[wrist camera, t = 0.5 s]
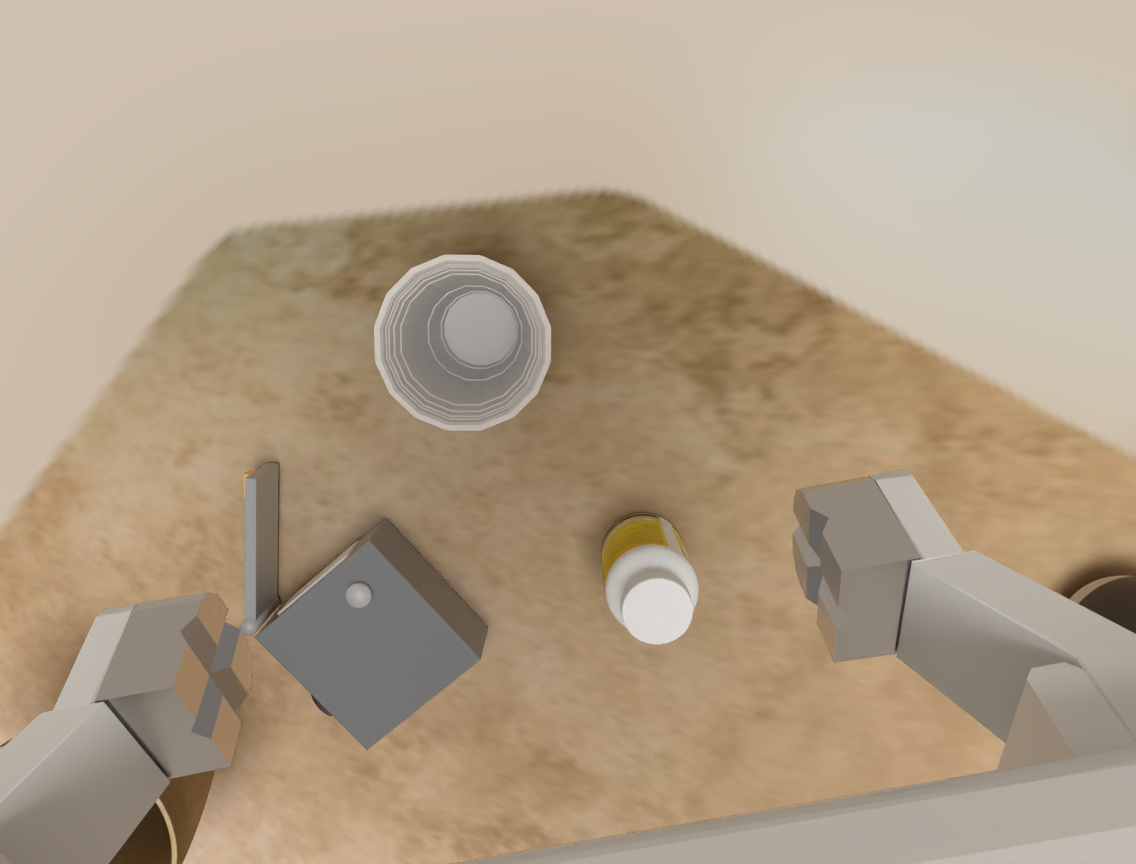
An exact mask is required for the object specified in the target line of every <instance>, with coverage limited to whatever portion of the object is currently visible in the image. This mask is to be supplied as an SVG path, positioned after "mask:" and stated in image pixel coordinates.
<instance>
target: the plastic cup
mask: <svg viewBox="0 0 1136 864" xmlns="http://www.w3.org/2000/svg"><path fill="white" fill-rule="evenodd" d="M374 346H375V363H376V365H377V367H378V369H379V371H380V374H381V376H382V378H383V380H384V383H385V385H386V387H387V389H388V391H389V394H390V395H391V396H393V397H394V398H395V399H396V400H397V401H398V402H399V403H400V404H401V405H402V406H403V407H404V408H405V409H406V410H407V411H408V412H409V413H410V414H411V415H413V416H414V417H415V418H417V419H419V420H422V421H424V422H427V423H429V424H432V425H434V426H437V427H439V428H442V429H444V430H447V431H482V430H484V429H487V428H489V427H492V426H494V425H497V424H499V423H502V422H504V421H506V420H509V419H511V418H514V417H515V416H516V415H517V414H518V413H519V412H520V411H521V410H522V409H523V408H524V407H525V406H526V405H527V404H528V403H529V402H530V401H531V400H532V399H533V398H534V397H535V396H536V395H537V394H538V392H539V389H540V387H541V384H542V382H543V380H544V377H545V375H546V373H547V370H548V368H549V366H550V363H551V326H550V323H549V321H548V318H547V316H546V313H545V311H544V308H543V306H542V303H541V301H540V299H539V296H538V294H537V293H536V292H535V291H534V290H533V289H532V288H531V287H530V286H529V285H528V284H527V283H526V282H525V281H524V280H523V279H522V278H521V277H520V276H519V275H518V274H517V273H516V272H515V271H514V270H513V269H511V268H509V267H507V266H504V265H502V264H500V263H497V262H495V261H493V260H491V259H488V258H486V257H484V256H481V255H442V256H440V257H437V258H435V259H432V260H430V261H427V262H425V263H423V264H420V265H418V266H415V267H413V268H411V269H410V270H409V271H408V272H407V273H406V274H405V275H404V276H403V277H402V278H401V279H400V280H399V281H398V282H397V283H396V284H395V285H394V286H393V287H392V288H391V289H390V290H389V291H388V292H387V294H386V296H385V299H384V301H383V304H382V307H381V309H380V312H379V314H378V317H377V320H376V322H375V325H374Z"/></svg>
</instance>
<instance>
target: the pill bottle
mask: <svg viewBox="0 0 1136 864" xmlns="http://www.w3.org/2000/svg"><path fill="white" fill-rule="evenodd" d="M601 559H602V568H603V577H604V586H605V595H606V600H607V603H608V606H609V609H610V611H611V612H612V614H613V616H614V617H615V618H616V619H617V620H618V621H619V622H620V623H621V624H622V625H623V626H625V627H626V628H627V630H628V631H629V632H630V633H631V634H632V635H633V636H634V637H635V638H637V639H638V640H640V641H642V642H645V643H648V644H665V643H669V642H671V641H674V640H676V639H677V638H679V637H680V636H681V635H682V634H683V633H684V632H685V631H686V630H687V628H688V627H689V625H690V623H691V620H692V616H693V611H694V608H695V606H696V604H697V600H698V594H699V585H698V579H697V576H696V573H695V570H694V568H693V565H692V563H691V560H690V558H689V556H688V553H687V551H686V548H685V546H684V543H683V541H682V539H681V536H680V535H679V533H678V531H677V530H676V529H675V527H674V526H673V525H672V524H671V523H669V522H668V521H667V520H665V519H663V518H661V517H659V516H657V515H653V514H648V513H638V514H633V515H629V516H627V517H624V518H623V519H621V520H619V521H618V522H617V523H615V524H614V525H613V526H612V527H611V528H610V530H609V531H608V533H607V534H606V536H605V538H604V541H603V544H602V551H601Z"/></svg>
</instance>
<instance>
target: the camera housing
mask: <svg viewBox="0 0 1136 864" xmlns="http://www.w3.org/2000/svg"><path fill="white" fill-rule="evenodd" d="M487 630H488V626H487V625H486V624H485V623H484V622H483V621H482V620H481V619H480V617H479V616H478V615H477V614H476V613H475V612H474V611H473V610H472V609H471V608H470V607H469V606H468V605H467V604H466V602H465V601H464V600H463V599H462V598H461V597H460V596H459V595H458V594H457V593H456V592H455V591H454V590H453V589H452V587H451V586H450V585H449V584H448V583H447V582H446V581H445V580H444V579H443V578H442V577H441V576H440V575H439V574H438V572H437V571H436V570H435V569H434V568H433V567H432V566H431V565H430V564H429V563H428V562H427V561H426V560H425V559H424V557H423V556H422V555H421V554H420V553H419V552H418V551H417V550H416V549H415V548H414V547H413V546H412V545H411V544H410V542H409V541H408V540H407V539H406V538H405V537H404V536H403V535H402V534H401V533H400V532H399V531H398V530H397V529H396V527H395V526H394V525H393V524H392V523H391V522H390V521H389V520H388V519H387V518H385V519H383V520H382V521H381V522H380V523H379V524H377V525H376V526H375V527H374V528H373V529H372V530H370V531H369V532H368V533H367V534H366V535H365V536H363V537H362V538H361V539H360V540H357V541H356V542H355V543H354V544H353V545H351V546H350V547H349V548H348V549H347V550H346V551H344V552H343V553H342V554H341V555H340V556H339V557H337V558H336V559H335V560H334V561H333V562H331V563H330V564H329V565H328V566H327V567H326V568H324V569H323V570H322V571H321V572H320V573H318V574H317V575H316V576H315V577H314V578H313V579H311V580H310V581H309V582H308V583H307V584H306V585H304V586H303V587H302V588H301V589H300V590H298V591H297V592H296V593H295V594H294V595H293V596H291V597H290V599H289V600H288V601H287V602H286V603H284V604H283V605H282V606H281V607H280V608H279V609H278V610H277V612H276V613H275V614H274V615H273V616H272V617H271V619H270V620H269V621H268V622H267V623H266V625H265V626H264V627H263V628H262V629H261V631H260V632H259V633H258V634H257V635H256V636H255V638H256V639H257V640H258V641H259V642H260V643H261V644H262V645H263V646H264V647H265V648H266V649H267V650H268V651H269V652H270V653H271V654H272V655H273V656H274V657H275V658H276V659H277V660H278V661H279V662H280V663H281V664H282V665H283V666H284V667H285V668H286V669H287V670H288V671H289V672H290V673H291V674H292V675H293V676H294V677H295V678H296V679H297V680H298V681H299V682H300V683H301V684H302V685H303V686H304V687H305V688H306V689H307V690H308V691H309V692H310V693H311V696H312V698H313V700H314V702H315V704H316V705H317V706H318V708H319V709H320V710H321V711H322V712H324V713H325V714H327V715H329V716H334V717H335V718H336V719H337V720H338V721H339V722H340V723H341V724H342V725H343V726H344V727H345V728H346V729H347V730H348V731H349V732H350V733H351V734H352V735H353V736H354V737H355V739H356V740H357V741H358V742H359V743H360V744H361V745H362V746H363V747H364V748H365V749H366V750H367V749H369V748H370V747H371V746H372V745H374V744H375V743H376V742H377V741H379V740H380V739H381V738H383V737H384V736H385V735H386V734H388V733H389V732H390V731H391V730H393V729H394V728H395V727H396V726H398V725H399V724H400V723H401V722H403V721H404V720H405V719H406V718H408V717H409V716H410V715H411V714H413V713H414V712H415V711H416V710H418V709H419V708H420V707H421V706H423V705H424V704H425V703H426V702H428V701H429V700H430V699H431V698H433V697H434V696H435V695H436V694H438V693H439V692H440V691H441V690H443V689H444V688H445V687H446V686H448V685H449V684H450V683H451V682H453V681H454V680H455V679H456V678H458V677H459V676H460V675H461V674H463V673H464V672H465V671H466V670H468V669H469V668H470V667H471V666H473V665H474V664H475V663H476V662H478V661H479V660H480V659H481V655H482V651H483V647H484V642H485V638H486V634H487Z"/></svg>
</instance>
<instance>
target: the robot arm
mask: <svg viewBox="0 0 1136 864" xmlns="http://www.w3.org/2000/svg"><path fill="white" fill-rule="evenodd" d="M793 511H794V513H795V515H796V517H797V520H798V522H799V524H800V525H799V527H798V528H797V529H796V530H795V531H794V533H793V555H794V561H795V567H796V571H797V575H798V578H799V581H800V584H801V587H802V589H803V592H804V594H805V597H806V598H807V599H808V600H810V601H811V602H813V603H814V604H816V605H817V606H818V613H817V625H818V627H819V629H820V632H821V634H822V636H823V639H824V641H825V643H826V645H827V648H828V650H829V652H830V655H831V657H832V659H833V661H834V663H835V662H842V661H849V660H856V659H863V658H870V657H877V656H883V655H890V654H897V656H896V657H898V658H899V659H900V660H901V661H903V662H904V663H905V664H906V665H908V666H909V667H910V668H911V669H913V670H914V671H915V672H917V673H918V674H919V675H920V676H922V677H923V678H924V679H925V680H927V681H928V682H929V683H930V684H932V685H933V686H934V687H935V688H937V689H938V690H939V691H941V692H942V693H943V694H944V695H946V696H947V697H948V698H949V699H951V700H952V701H953V702H954V703H956V704H957V705H958V706H959V707H961V708H962V709H963V710H965V711H966V712H967V713H968V714H970V715H971V716H972V717H973V718H975V719H976V720H977V721H978V722H980V723H981V724H982V725H983V726H985V727H986V728H987V729H988V730H990V731H991V732H992V733H994V734H995V735H996V736H997V737H999V738H1000V739H1001V740H1002V741H1004V742H1005V743H1006V744H1005V747H1004V750H1003V753H1002V756H1001V759H1000V762H999V765H998V768H997V770H996V771H991V772H985V773H979V774H973V775H967V776H961V777H955V778H950V779H944V780H938V781H932V782H926V783H920V784H914V785H908V786H903V787H897V788H891V789H885V790H879V791H873V792H867V793H862V794H856V795H850V796H844V797H838V798H832V799H826V800H821V801H815V802H809V803H803V804H797V805H791V806H785V807H780V808H774V809H768V810H762V811H756V812H750V813H744V814H739V815H733V816H727V817H721V818H715V819H709V820H703V821H698V822H692V823H686V824H680V825H674V826H668V827H662V828H657V829H651V830H645V831H639V832H633V833H627V834H621V835H615V836H610V837H604V838H598V839H592V840H586V841H580V842H574V843H569V844H563V845H557V846H551V847H545V848H539V849H533V850H527V851H522V852H516V853H510V854H504V855H498V856H492V857H486V858H481V859H475V860H469V861H463V862H457V863H451V864H1136V634H1135V633H1133V632H1131V631H1129V630H1127V629H1125V628H1123V627H1122V626H1120V625H1118V624H1116V623H1114V622H1112V621H1110V620H1108V619H1106V618H1104V617H1102V616H1100V615H1098V614H1097V613H1095V612H1093V611H1091V610H1089V609H1087V608H1085V607H1083V606H1081V605H1079V604H1077V603H1075V602H1073V601H1072V600H1070V599H1068V598H1066V597H1064V596H1062V595H1060V594H1058V593H1056V592H1054V591H1052V590H1050V589H1048V588H1047V587H1045V586H1043V585H1041V584H1039V583H1037V582H1035V581H1033V580H1031V579H1029V578H1027V577H1025V576H1023V575H1022V574H1020V573H1018V572H1016V571H1014V570H1012V569H1010V568H1008V567H1006V566H1004V565H1002V564H1000V563H999V562H997V561H995V560H993V559H991V558H989V557H987V556H985V555H983V554H981V553H979V552H977V551H968V552H964V551H963V549H962V548H961V546H960V545H959V544H958V542H957V541H956V539H955V538H954V536H953V535H952V533H951V532H950V530H949V529H948V527H947V526H946V524H945V523H944V521H943V520H942V518H941V517H940V515H939V514H938V512H937V511H936V509H935V508H934V506H933V505H932V503H931V502H930V500H929V499H928V497H927V496H926V495H925V493H924V492H923V490H922V489H921V487H920V486H919V484H918V483H917V481H916V480H915V478H914V477H913V475H912V474H911V473H910V472H908V471H906V470H905V469H904V470H898V471H893V472H888V473H882V474H877V475H872V476H868V477H862V478H856V479H851V480H846V481H840V482H835V483H829V484H824V485H818V486H813V487H808V488H802V489H797V490H796V493H795V496H794V509H793ZM227 612H228V608H227V607H226V605H225V604H224V602H223V601H222V599H221V598H220V596H219V595H218V594H215V593H204V594H197V595H191V596H184V597H177V598H171V599H164V600H157V601H151V602H144V603H140V604H136V605H129V606H122V607H116V608H109V609H105V610H104V611H102V612H101V613H100V614H99V615H98V616H97V617H96V618H95V620H94V622H93V624H92V626H91V628H90V630H89V633H88V635H87V637H86V639H85V641H84V644H83V646H82V648H81V650H80V652H79V654H78V657H77V659H76V661H75V663H74V665H73V667H72V670H71V672H70V674H69V676H68V678H67V681H66V683H65V685H64V687H63V689H62V691H61V694H60V696H59V698H58V700H57V702H56V704H55V707H54V709H53V710H52V711H47V712H42V713H41V714H40V715H38V716H37V717H36V718H35V719H34V720H33V721H32V722H31V723H30V724H28V725H27V726H26V727H25V728H24V729H23V730H22V731H21V732H20V733H18V734H17V735H16V736H15V737H14V738H13V739H12V740H11V741H10V742H8V743H7V744H6V745H5V746H4V747H3V748H2V749H1V750H0V864H109V863H110V862H111V860H112V859H113V858H114V856H115V855H116V854H117V852H118V851H119V850H120V848H121V847H122V846H123V844H124V843H125V842H126V840H127V839H128V838H129V836H130V835H131V834H132V832H133V831H134V830H135V828H136V827H137V826H138V824H139V823H140V822H141V821H142V819H143V818H144V817H145V815H146V814H147V813H148V811H149V810H150V809H151V807H152V806H153V805H154V803H155V802H156V801H157V799H158V798H159V797H160V795H161V794H162V793H163V791H164V790H165V789H166V787H167V786H168V785H169V783H170V780H169V779H172V778H177V777H182V776H187V775H192V774H196V773H201V772H206V771H211V770H216V769H221V768H226V767H231V764H232V760H233V756H234V752H235V748H236V744H237V740H238V736H239V732H240V728H241V724H242V723H241V721H240V720H239V718H238V717H237V715H236V713H235V712H234V710H235V709H236V708H237V707H238V706H239V705H240V704H241V703H242V702H243V700H244V699H245V698H246V697H247V696H248V695H249V690H250V686H251V681H252V655H251V652H250V648H249V645H248V642H247V640H246V638H245V636H244V635H243V633H242V631H241V630H240V629H238V628H236V627H234V626H232V625H230V624H228V623H226V622H225V619H226V615H227Z"/></svg>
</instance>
